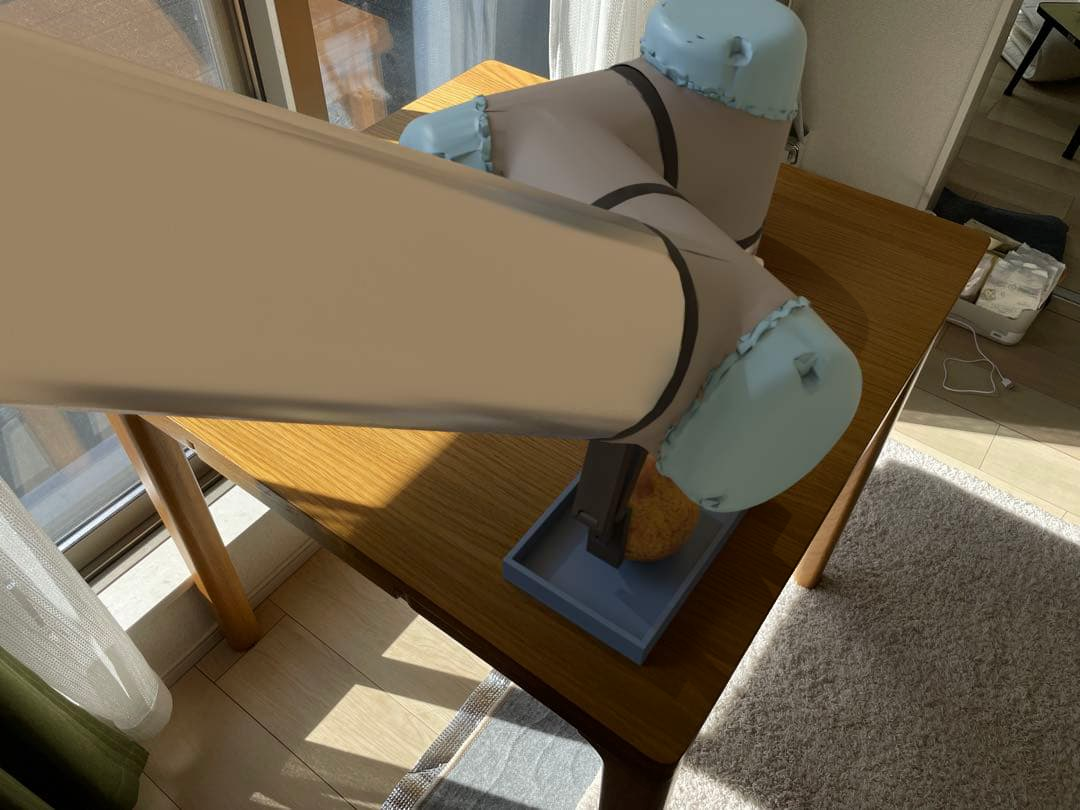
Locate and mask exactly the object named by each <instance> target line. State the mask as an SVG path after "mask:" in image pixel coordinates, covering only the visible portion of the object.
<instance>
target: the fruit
mask: <svg viewBox="0 0 1080 810" xmlns="http://www.w3.org/2000/svg"><path fill="white" fill-rule="evenodd" d="M655 463H656V461H655V459H654V458H653V457H652V456H651V454H650V453H649V452H648V455H647V457H646V460H645V462H644V465H643V467H642V470H641V472H640V475H639V478H638V480H637V483H636V485H635V488H634V490H633V493H632V495H631V498H630V500H629V503H628V505H627V506H628V507H630V508H632V513H631V519H630V525H629V531H628V536H627V542H626V548H625V554H624V559H628V560H633V561H643V562H655V561H661V560H663V559H665V558H668V557H670V556H672V555H673V554H675V553H676V552H677V551H678V550H679V549H680V548H681V547H682V546H683V545H684V544H685V543H686V541H687V540H688V538H689V537H690V536H691V535H692V533H693V531H694V528H695V526H696V524H697V521H698V518H699V513H700V505H698V504H696V503H695V502H693V501H692V500H690V499H689V498H688V497H687V496H686V495H685V494H684V492H683V491H682V490H681V489H680V488H679V487H678V486H677V485H676V484H675V483H674V482H673V480H672V479H671V478H669V477H666V476H662V475H661V474H660V473H659V471H658V470H657V468H656V467H655Z"/></svg>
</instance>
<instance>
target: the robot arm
mask: <svg viewBox="0 0 1080 810" xmlns="http://www.w3.org/2000/svg"><path fill="white" fill-rule="evenodd" d="M639 44H640V45H639V52H640V55H639V57H636V58H633V59H632V60H627V61H623V62H619V63H615V64H613V65H611V66H609V67H608V68H604V69H599V70H594V71H590V72H589V71H588V72H585V73H580V74H576V75H572V76H568V77H562V78H559V79H554V80H549V81H545V82H541V83H536V84H531V85H527V86H522V87H518V88H517V87H516V88H514V89H513V88H512V89H509V90H505V91H500V92H496V93H491V94H485V95H484V94H483V93H481V94H476V95H475V96H474V97H473V98H471V100H468V101H464V102H462V103H458V104H455V105H452V106H449V107H446V108H445V107H444V108H443V109H439V110H436V111H433V112H430V113H426V114H423V115H420V116H418V117H416V118H414V119H412V120H411V121H410V122H408V124H407V125H406V126H405V128H404V129H403V131H402V133H401V135H400V136H399V139H398V142H397V143H395V142H393V141H389V140H387V139H383V138H380V137H377V136H373V135H371V134H367V133H364V132H361V131H358V130H355V129H352V128H348V127H345V126H342V125H339V124H336V123H332V122H330V121H326V120H323V119H320V118H317V117H313V116H310V115H308V114H303V113H301V112H297V111H294V110H291V109H288V108H284V107H282V106H278V105H275V104H272V103H269V102H267V101H266V102H265V101H263V100H259V99H256V98H253V97H250V96H247V95H244V94H240V93H238V92H234V91H230V90H228V89H224V88H222V87H218V86H214V85H212V84H209V83H206V82H202V81H199V80H197V79H193V78H190V77H186V76H184V75H181V74H177V73H174V72H171V71H168V70H163V69H161V68H158V67H155V66H151V65H149V64H145V63H142V62H139V61H136V60H133V59H129V58H126V57H123V56H120V55H116V54H113V53H110V52H108V51H104V50H100V49H98V48H94V47H91V46H88V45H85V44H82V43H78V42H75V41H72V40H70V39H66V38H64V37H63V38H62V37H59V36H57V35H54V34H50V33H46V32H44V31H40V30H38V29H34V28H31V27H29V26H28V27H27V26H24V25H21V24H18V23H15V22H12V21H8V20H6V19H2V18H0V408H11V409H13V408H14V409H29V410H30V409H31V410H45V411H46V410H47V411H48V410H49V411H64V412H65V411H66V412H82V413H99V414H100V413H102V414H119V415H138V416H154V417H155V416H156V417H174V418H191V419H206V420H207V419H209V420H224V421H225V420H227V421H243V422H244V421H246V422H262V423H263V422H264V423H279V424H297V425H298V424H299V425H312V426H313V425H314V426H315V425H316V426H333V427H334V426H335V427H352V428H369V429H386V430H387V429H388V430H389V429H390V430H404V431H405V430H407V431H423V432H441V433H456V434H457V433H458V434H477V435H494V436H495V435H496V436H511V437H531V438H545V439H547V438H548V439H566V440H582V441H589V442H588V443H587V449H586V453H585V457H584V461H583V465H582V469H581V471H582V472H581V471H580V472H581V477H580V481H579V485H578V489H577V493H576V497H575V501H574V505H573V509H572V513H571V517H573V518H574V519H576V520H578V521H579V522H581V523H583V524H585V525H586V526H588V527H589V530H588V539H587V547H586V551H587V552H589V553H591V554H592V555H594V556H596V557H597V558H599V559H601V560H602V561H604V562H605V563H607V564H609V565H610V566H612V567H614V568H615V569H617V570H618V568H619V567H620V566H621V564H622V563H623V559H624V554H625V548H626V542H627V536H628V531H629V525H630V519H631V513H632V508H630V507H628V506H627V505H628V503H629V500H630V498H631V495H632V493H633V490H634V488H635V485H636V483H637V480H638V478H639V475H640V472H641V470H642V467H643V465H644V462H645V460H646V457H647V455H648V452H649V453H650V454H651V456H652V457H653V458H654V459H655V461H656V463H655V467H656V468H657V470H658V471H659V473H660V474H661V475H662V476H666V477H669V478H671V479H672V480H673V482H674V483H675V484H676V485H677V486H678V487H679V488H680V489H681V490H682V491H683V492H684V494H685V495H686V496H687V497H688V498H689V499H690V500H692V501H693V502H695V503H696V504H698V505H700V506H702V507H704V509H706V510H709V511H713V512H734V511H739V510H744V509H747V508H749V509H751V508H753V507H755V506H758V505H760V504H764V503H765V502H767V501H769V500H771V499H773V498H775V497H776V496H778V495H780V494H782V493H783V492H785V491H786V490H788V489H789V488H790V487H792V486H793V485H795V484H796V483H797V482H799V481H800V480H801V479H802V478H804V477H805V476H806V475H807V474H809V473H810V472H811V471H812V470H813V469H814V468H815V467H817V465H818V464H819V463H821V461H822V460H823V459H824V458H825V457H826V455H828V454H829V452H830V451H831V450H832V449H833V448H834V446H835V445H836V444H837V442H838V441H840V439H841V438H842V436H843V435H844V433H846V431H847V429H848V427H849V426H850V424H851V423H852V420H853V418H854V417H855V414H856V412H857V410H858V407H859V405H860V400H861V398H862V392H863V374H862V369H861V366H860V364H859V361H858V358H857V356H856V355H855V354H854V352H853V351H852V350H851V349H850V348H849V347H848V346H847V344H845V342H844V341H843V340H842V339H841V338H840V337H839V336H838V335H837V334H836V332H834V330H833V329H832V328H831V327H830V326H829V325H828V324H827V323H826V322H825V321H824V320H823V318H821V317H820V315H818V313H817V312H816V311H815V310H814V309H813V308H812V304H811V301H810V300H809V299H807V298H806V297H805V296H803V295H800V296H797V295H796V294H795V293H794V292H793V291H792V290H791V289H789V288H788V287H787V286H786V285H785V284H783V283H782V282H781V281H780V280H779V278H777V277H775V275H773V274H772V273H771V272H770V271H769V270H768V269H767V268H765V267H764V266H765V265H764V264H765V263H764V260H763V259H762V258H761V257H759V256H757V253H758V249H759V245H760V242H761V239H762V235H763V231H764V228H765V225H766V220H767V215H768V211H769V207H770V204H771V199H772V196H773V193H774V190H775V186H776V182H777V178H778V176H779V175H778V174H779V172H780V167H781V163H782V161H783V157H784V153H785V149H786V145H787V142H788V139H789V135H790V131H791V127H792V124H793V120H795V119H796V117H797V115H798V113H799V105H798V103H799V97H800V93H801V92H800V91H801V86H802V81H803V80H802V79H803V75H804V70H805V65H806V64H805V62H806V55H807V49H808V35H807V31H806V28H805V26H804V23H803V22H802V20H801V18H799V16H798V15H797V13H795V11H793V10H792V9H791V8H790V7H788V6H787V5H785V4H783V3H782V2H780V1H777V0H659V1H657V2H656V4H654V5H653V6H652V8H651V9H650V10H649V13H648V14H647V17H646V22H645V28H644V32H643V35H642V37H641V38H640V39H639Z"/></svg>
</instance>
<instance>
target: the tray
mask: <svg viewBox="0 0 1080 810" xmlns="http://www.w3.org/2000/svg"><path fill="white" fill-rule="evenodd" d="M581 472H582V470H581V471H580V472H578V474H577V475H576V476H575V477H574V478H573V479H572V481H570V483H569V484H568V485H567V486H566V487H565V488H564V490H563V491H562V492H561V493H560V494H559V496H557V498H556V499H555V500H554V501H553V502H552V503H551V504H550V505H549V507H548V508H547V509H546V510H545V511H544V512H543V514H542V515H541V516H540V517H539V518H538V519H537V520H536V521H535V522H534V523H533V525H532V526H531V527H530V528H529V529H528V530H527V531H526V533H525V534H524V535H523V536H522V537H521V538H520V540H519V541H518V542H517V543H516V544H515V545H514V546H513V548H512V549H510V551H509V552H508V553H507V554H506V555H505V557H503V558H502V578H503V579H504V580H506V581H507V582H509V583H510V584H512V585H514V586H515V587H517V588H518V589H520V590H522V591H523V592H525V593H526V594H528V595H529V596H531V597H532V598H534V599H535V600H537V601H539V602H540V603H542V604H543V605H545V606H546V607H548V608H549V609H551V610H553V611H554V612H555V613H557V614H558V615H560V616H561V617H564V618H565V619H566V620H568V621H570V622H571V623H572V624H574V625H576V626H577V627H579V628H581V629H582V630H584V631H585V632H587V633H588V634H590V635H591V636H593V637H595V638H596V639H597V640H599V641H601V642H602V643H604V644H605V645H607V646H609V647H610V648H612V649H613V650H615V651H617V652H618V653H620V654H621V655H623V656H624V657H625V658H626V659H629V660H630V661H631V662H633V663H635V664H637V665H638V666H642V665H643V663H644V661H645V660H646V659H647V657H648V656H649V654H650V653H651V652H652V650H653V649H654V647H655V646H656V644H657V642H659V640H660V639H661V638H662V635H663V634H664V633H665V631H666V630H667V628H668V627H669V626H670V624H671V622H672V621H673V620H674V618H675V617H676V615H677V614H678V612H679V611H680V610H681V608H682V607H683V605H684V604H685V602H686V601H687V599H688V598H689V597H690V595H691V594H692V592H693V591H694V589H695V588H696V587H697V585H698V583H699V582H700V581H701V579H702V578H703V576H704V575H705V574H706V572H707V570H708V569H709V568H710V566H711V564H712V563H713V562H714V560H715V559H716V557H717V556H718V554H719V553H720V552H721V550H722V548H723V547H724V546H725V544H726V543H727V541H728V540H729V538H730V537H731V535H732V534H733V533H734V532H735V530H736V528H737V527H738V525H739V524H740V522H741V521H742V520H743V518H744V516H745V515H746V514H747V512H748V511H749V510H750V508H747V509H744V510H739V511H734V512H713V511H709V510H706V509H704V507H702V506H700V513H699V518H698V521H697V524H696V526H695V528H694V531H693V533H692V535H691V536H690V537H689V538H688V540H687V541H686V543H685V544H684V545H683V546H682V547H681V548H680V549H679V550H678V551H677V552H676V553H675V554H673V555H672V556H670V557H668V558H665V559H663V560H661V561H655V562H643V561H633V560H628V559H623V563H622V564H621V566H620V567H619V568H618V570H617V569H615V568H614V567H612V566H610V565H609V564H607V563H605V562H604V561H602V560H601V559H599V558H597V557H596V556H594V555H592V554H591V553H589V552H587V551H586V547H587V539H588V530H589V527H588V526H586V525H585V524H583V523H581V522H579V521H578V520H576V519H574V518H573V517H571V513H572V509H573V505H574V501H575V497H576V493H577V489H578V485H579V481H580V477H581Z"/></svg>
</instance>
